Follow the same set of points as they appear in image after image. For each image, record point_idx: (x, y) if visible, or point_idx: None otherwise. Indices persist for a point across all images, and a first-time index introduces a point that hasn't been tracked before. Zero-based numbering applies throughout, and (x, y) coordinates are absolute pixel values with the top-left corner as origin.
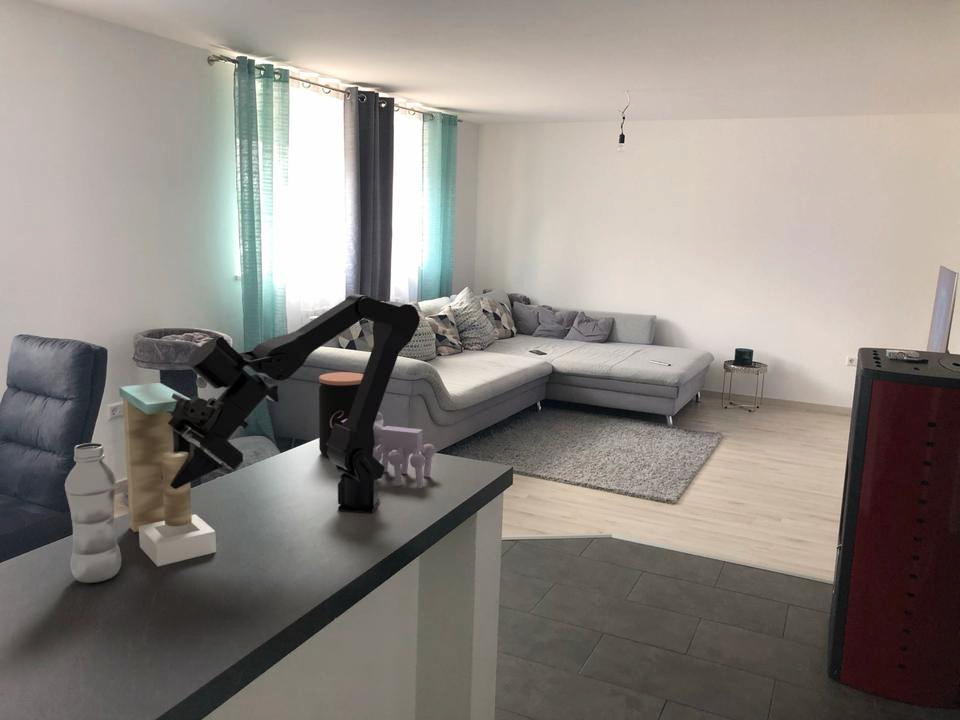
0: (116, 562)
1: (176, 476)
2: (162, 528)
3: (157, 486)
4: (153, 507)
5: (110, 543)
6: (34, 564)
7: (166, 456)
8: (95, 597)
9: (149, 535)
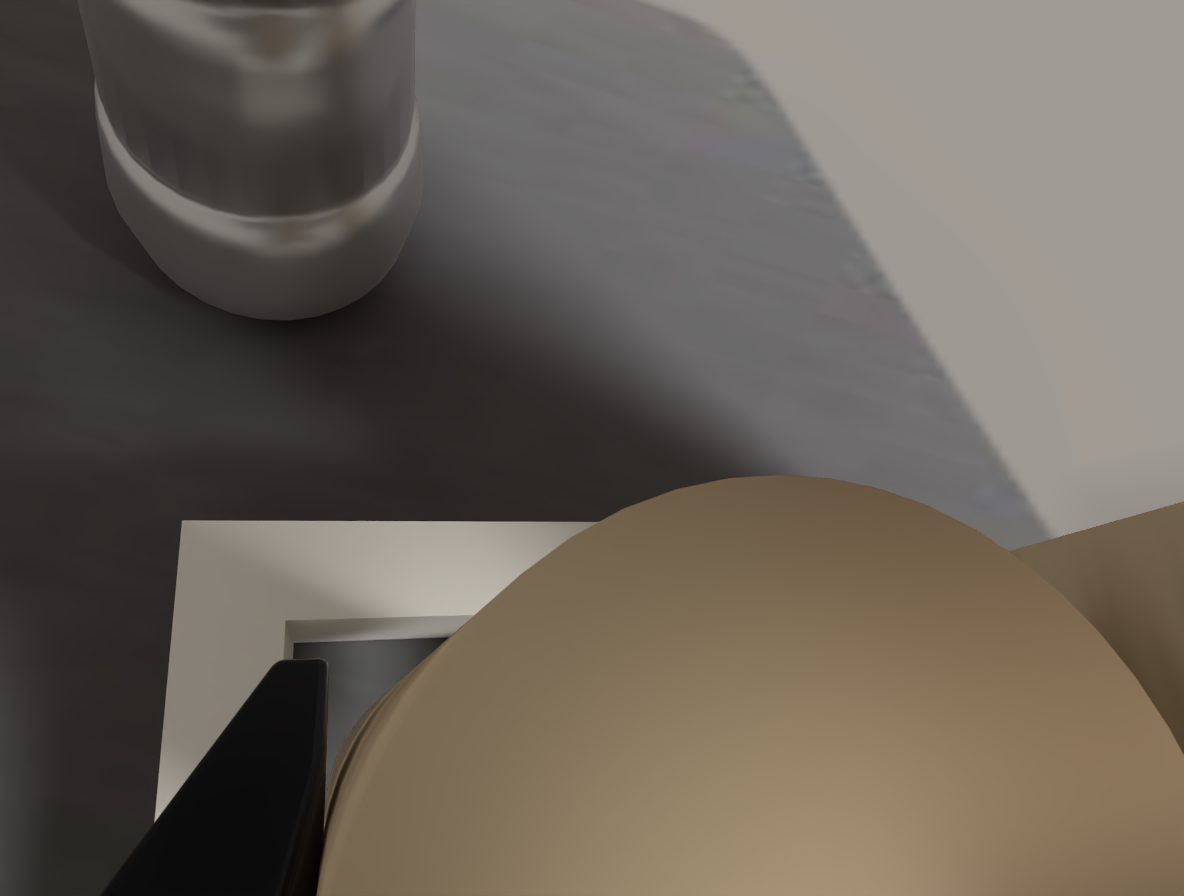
0: (132, 228)
1: (231, 782)
2: None
3: None
4: None
5: (106, 96)
6: (656, 87)
7: (787, 604)
8: (6, 139)
9: (427, 532)
